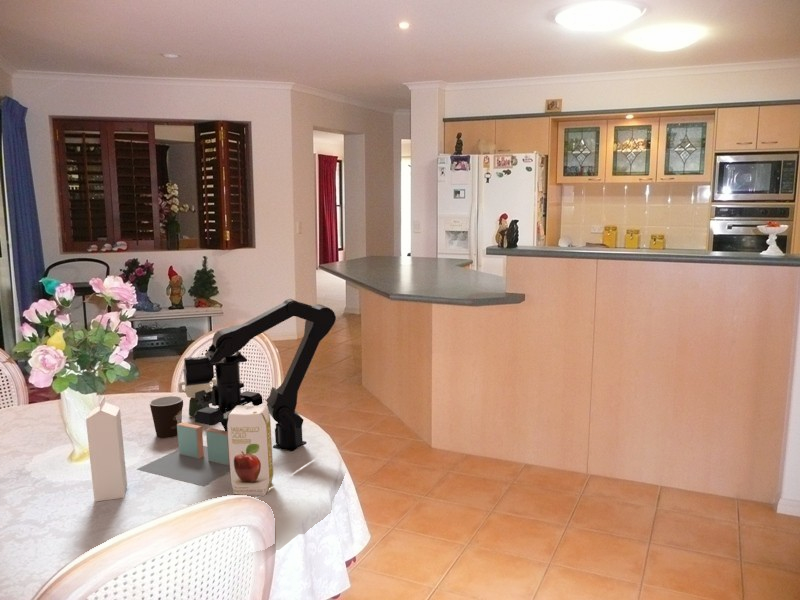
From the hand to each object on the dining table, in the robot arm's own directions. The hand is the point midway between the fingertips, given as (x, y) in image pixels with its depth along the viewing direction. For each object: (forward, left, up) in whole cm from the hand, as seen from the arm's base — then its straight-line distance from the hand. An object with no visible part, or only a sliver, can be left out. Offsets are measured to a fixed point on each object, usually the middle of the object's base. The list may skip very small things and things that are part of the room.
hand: (231, 439), depth 157 cm
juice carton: (-17, +12, -5) cm, 22 cm away
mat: (+5, +7, -5) cm, 10 cm away
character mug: (+31, -20, -5) cm, 37 cm away
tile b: (+10, +4, -4) cm, 12 cm away
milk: (+11, +27, -5) cm, 30 cm away
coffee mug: (+27, -6, -5) cm, 28 cm away
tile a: (0, +4, -4) cm, 6 cm away
